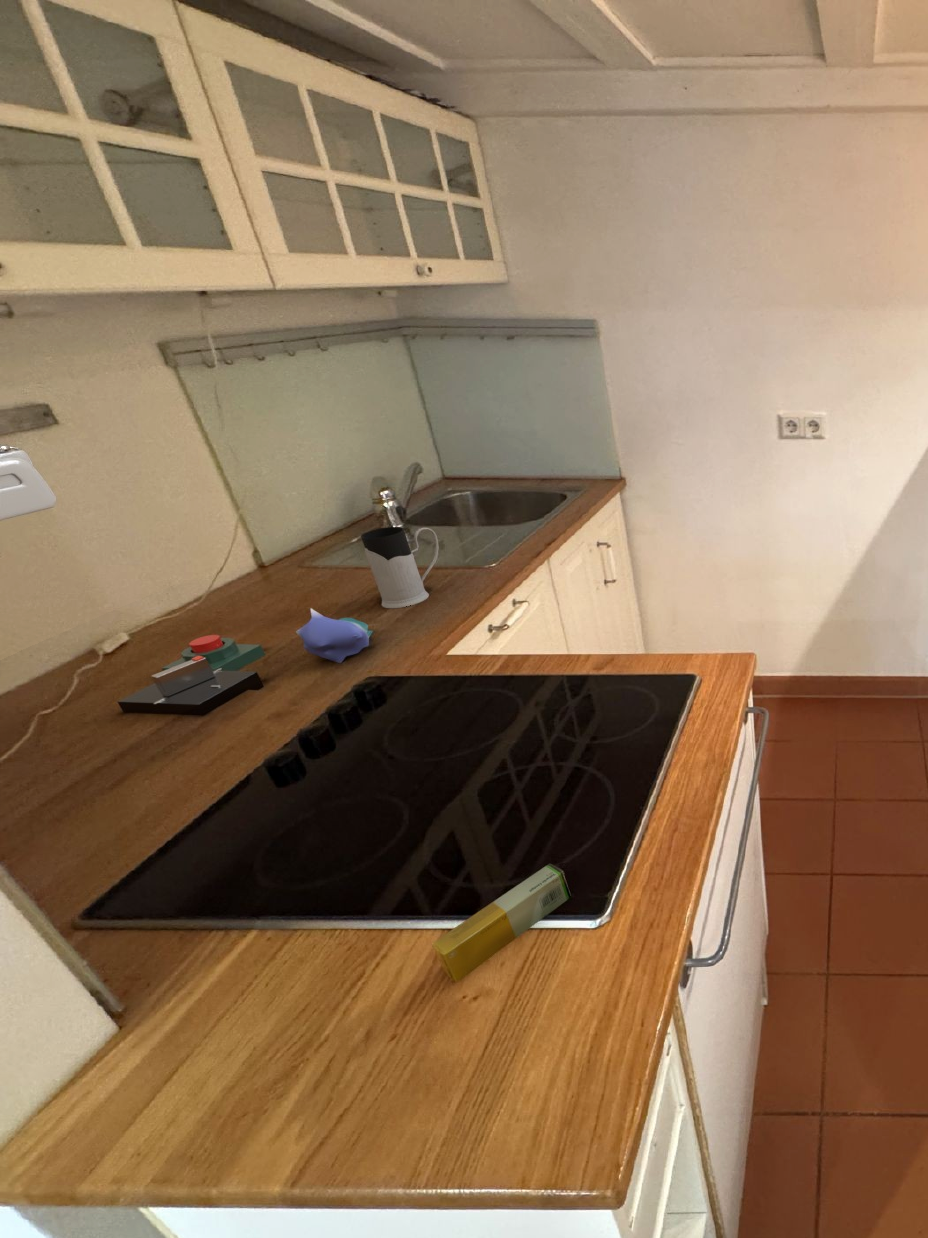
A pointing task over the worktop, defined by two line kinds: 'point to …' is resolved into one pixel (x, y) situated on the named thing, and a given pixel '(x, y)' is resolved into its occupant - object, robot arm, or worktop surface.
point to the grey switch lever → (183, 676)
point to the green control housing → (224, 656)
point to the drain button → (206, 643)
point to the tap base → (193, 695)
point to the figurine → (334, 636)
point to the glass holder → (396, 566)
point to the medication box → (501, 922)
